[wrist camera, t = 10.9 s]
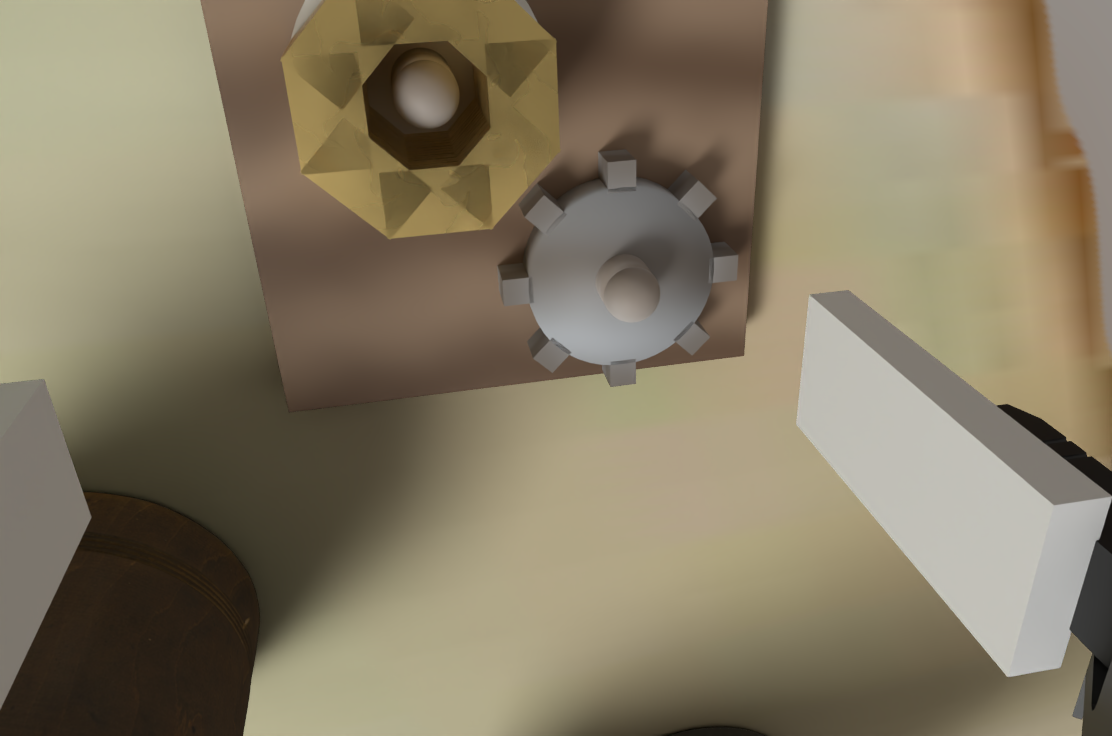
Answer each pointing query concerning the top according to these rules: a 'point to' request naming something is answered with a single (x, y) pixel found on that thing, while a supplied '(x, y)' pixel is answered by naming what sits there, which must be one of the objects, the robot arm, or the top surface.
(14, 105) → the top surface
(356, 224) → the gear board
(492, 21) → the faceted octagonal washer
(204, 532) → the wooden container
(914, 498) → the robot arm
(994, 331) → the top surface
